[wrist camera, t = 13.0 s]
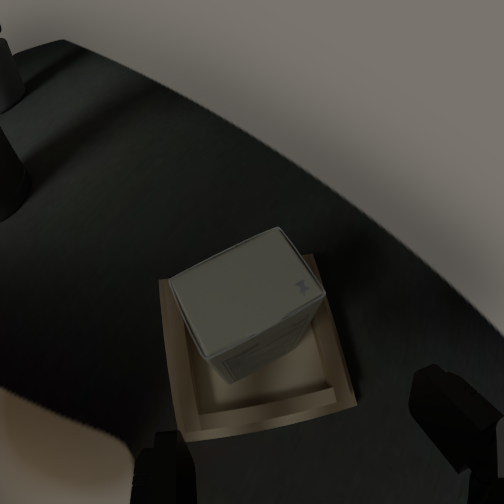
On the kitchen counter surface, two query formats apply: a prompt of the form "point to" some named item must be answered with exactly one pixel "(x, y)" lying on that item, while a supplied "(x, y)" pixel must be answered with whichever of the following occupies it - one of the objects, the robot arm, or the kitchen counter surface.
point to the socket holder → (255, 379)
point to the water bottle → (9, 79)
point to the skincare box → (248, 303)
